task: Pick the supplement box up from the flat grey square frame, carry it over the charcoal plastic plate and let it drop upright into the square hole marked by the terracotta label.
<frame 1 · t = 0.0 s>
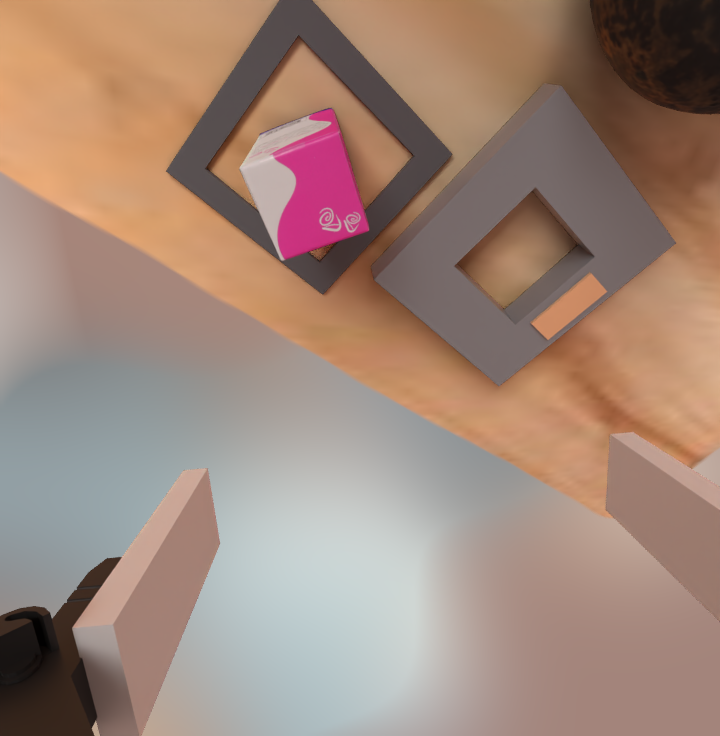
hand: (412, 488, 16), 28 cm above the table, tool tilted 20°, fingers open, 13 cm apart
socket plate: (512, 248, 41), on the table
supplement box: (310, 161, 36), resting in flat grey square frame
flat grey square frame: (310, 161, 36), on the table
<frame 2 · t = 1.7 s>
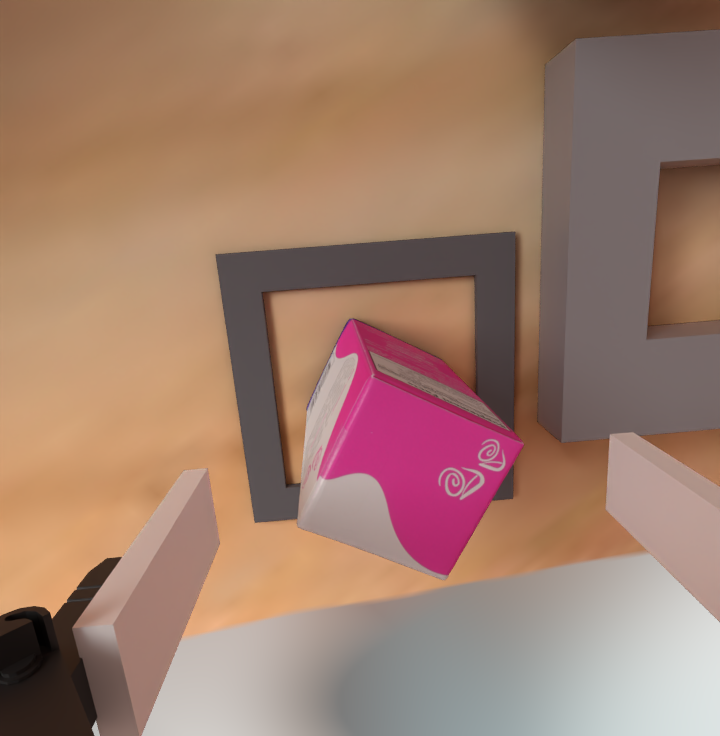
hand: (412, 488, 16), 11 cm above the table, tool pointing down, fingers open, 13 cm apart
socket plate: (691, 247, 25), on the table
supplement box: (375, 383, 27), resting in flat grey square frame
flat grey square frame: (376, 384, 26), on the table
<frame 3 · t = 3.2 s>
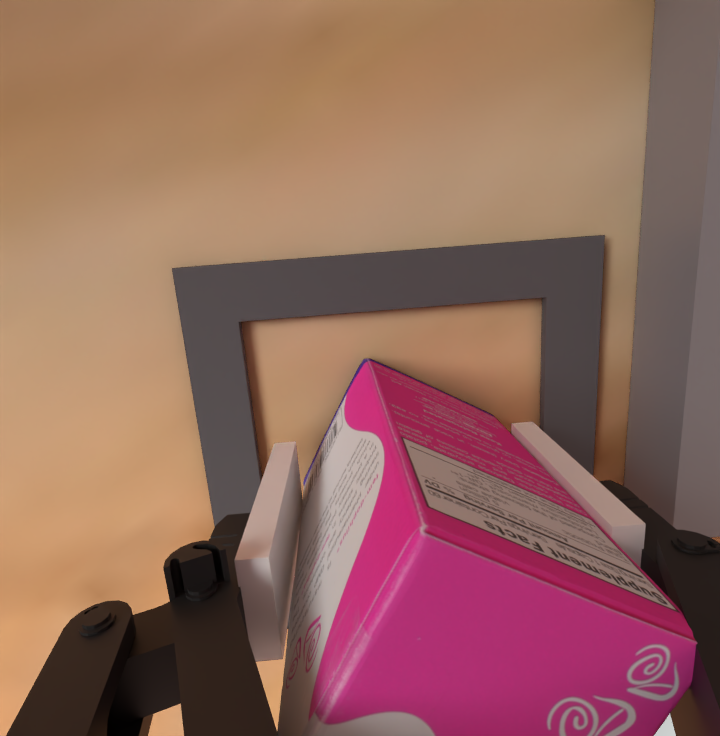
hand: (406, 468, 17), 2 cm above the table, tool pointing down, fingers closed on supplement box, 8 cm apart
supplement box: (399, 446, 19), resting in flat grey square frame, touching gripper
flat grey square frame: (400, 448, 19), on the table
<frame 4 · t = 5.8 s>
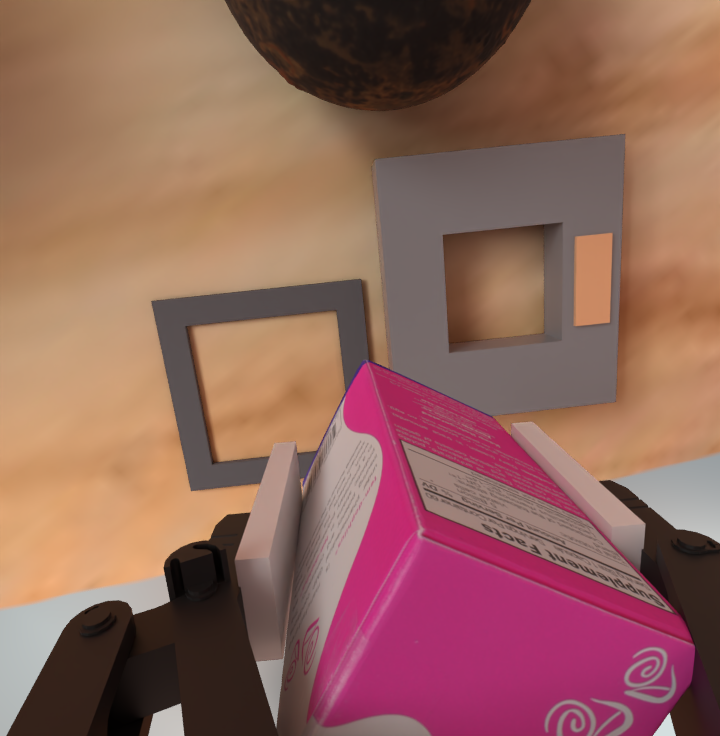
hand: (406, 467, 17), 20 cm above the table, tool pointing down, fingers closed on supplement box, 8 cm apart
socket plate: (490, 285, 36), on the table
supplement box: (398, 447, 19), point 18 cm above the table, touching gripper
flat grey square frame: (272, 388, 37), on the table
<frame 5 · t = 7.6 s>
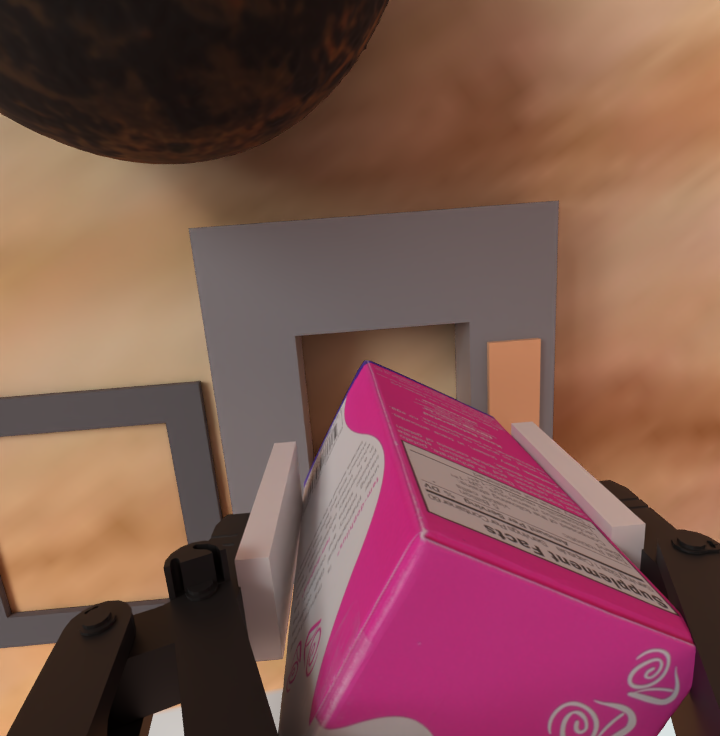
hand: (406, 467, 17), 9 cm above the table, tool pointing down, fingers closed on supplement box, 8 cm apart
socket plate: (382, 393, 26), on the table
supplement box: (399, 448, 19), point 7 cm above the table, touching gripper
flat grey square frame: (86, 520, 27), on the table
when the fingers open (5 cm above the table, at t = 9.0 s): supplement box drops 3 cm, resting in socket plate.
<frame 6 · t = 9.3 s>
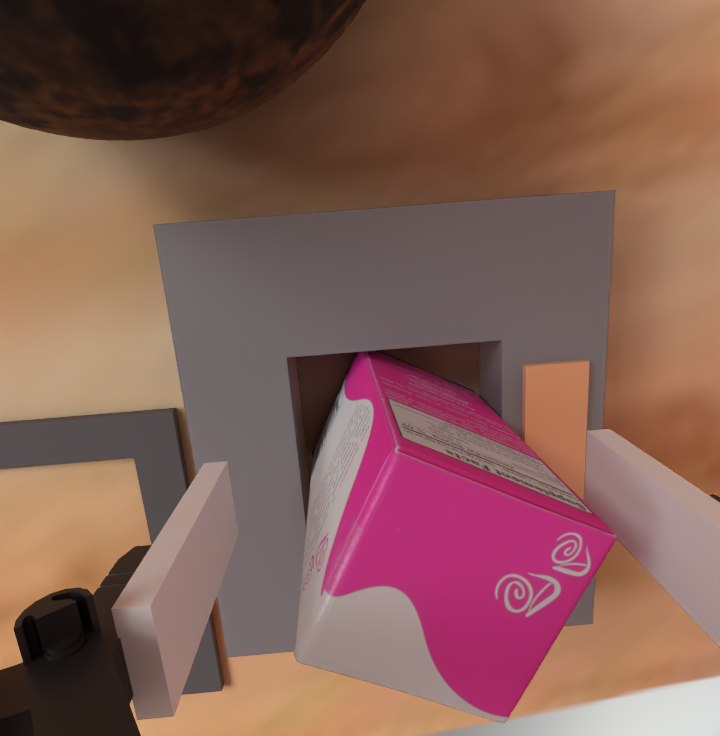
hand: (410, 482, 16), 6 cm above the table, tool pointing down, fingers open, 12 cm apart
socket plate: (392, 422, 22), on the table
supplement box: (394, 421, 22), resting in socket plate
flat grey square frame: (42, 570, 23), on the table
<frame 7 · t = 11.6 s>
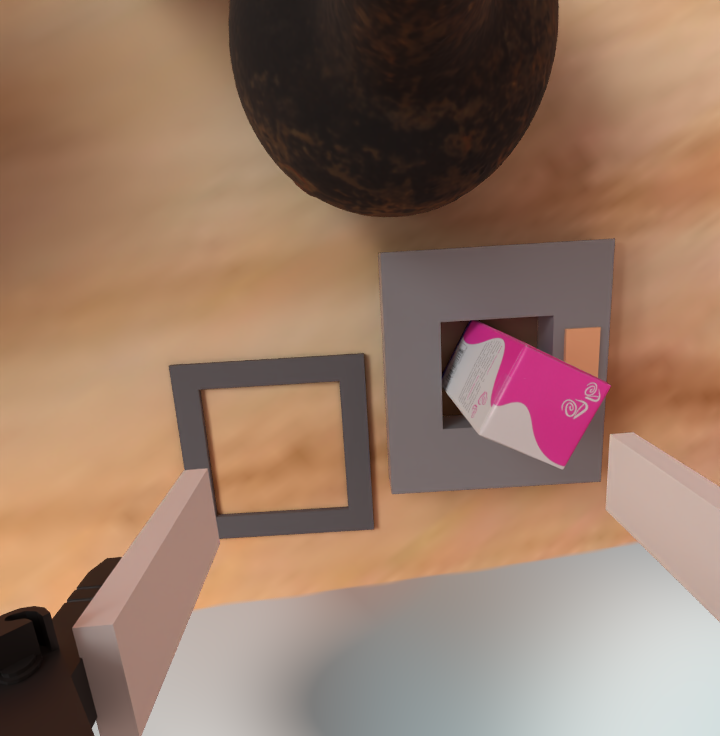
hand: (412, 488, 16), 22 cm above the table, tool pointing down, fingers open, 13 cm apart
glass bottle: (384, 89, 33), on the table
socket plate: (485, 364, 38), on the table
supplement box: (486, 364, 38), resting in socket plate
flat grey square frame: (276, 449, 39), on the table
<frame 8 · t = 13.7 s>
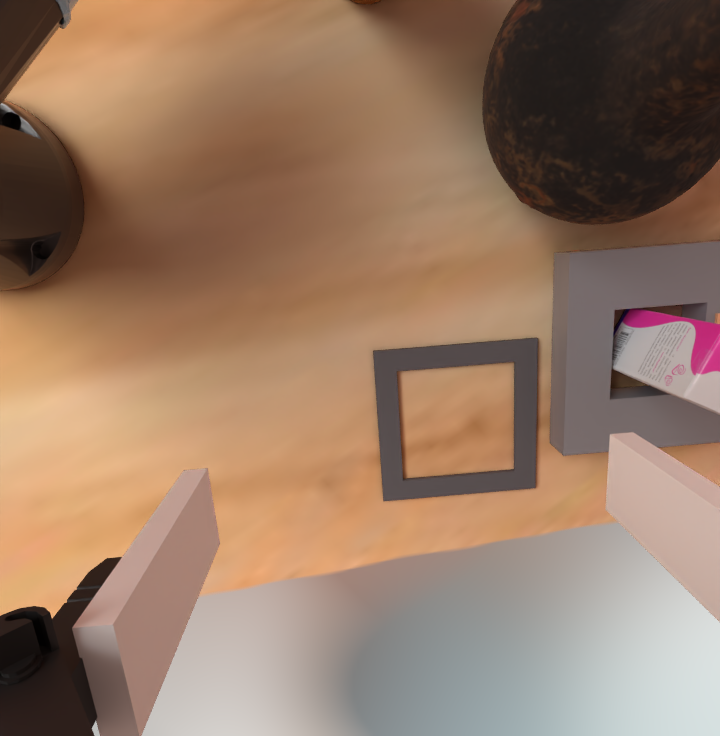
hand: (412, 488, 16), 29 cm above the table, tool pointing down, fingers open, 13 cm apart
glass bottle: (567, 115, 40), on the table
socket plate: (636, 345, 45), on the table
supplement box: (636, 345, 45), resting in socket plate
flat grey square frame: (456, 421, 46), on the table
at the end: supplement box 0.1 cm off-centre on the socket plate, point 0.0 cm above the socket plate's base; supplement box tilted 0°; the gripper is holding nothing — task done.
